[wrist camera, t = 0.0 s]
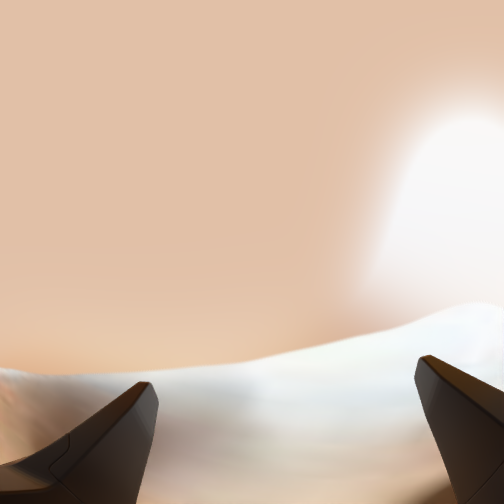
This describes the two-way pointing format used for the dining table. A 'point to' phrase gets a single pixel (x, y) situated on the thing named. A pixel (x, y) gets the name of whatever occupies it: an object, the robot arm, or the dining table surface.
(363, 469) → the dining table surface
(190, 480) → the dining table surface
